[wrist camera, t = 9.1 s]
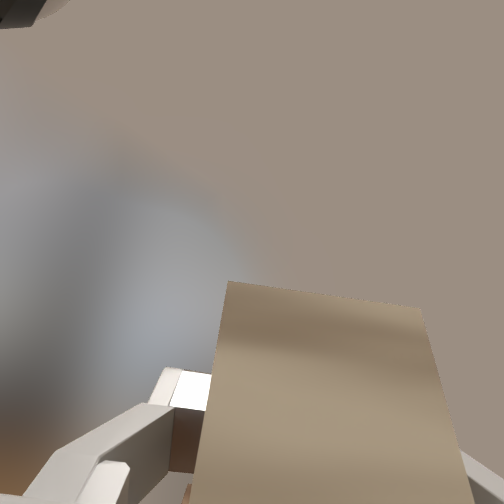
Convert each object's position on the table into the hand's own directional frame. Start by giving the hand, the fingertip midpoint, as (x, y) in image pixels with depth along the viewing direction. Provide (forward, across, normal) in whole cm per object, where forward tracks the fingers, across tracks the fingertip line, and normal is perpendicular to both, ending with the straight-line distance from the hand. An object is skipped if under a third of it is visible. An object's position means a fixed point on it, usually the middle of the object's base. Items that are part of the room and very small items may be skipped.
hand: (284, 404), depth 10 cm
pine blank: (+1, 0, +7) cm, 7 cm away
